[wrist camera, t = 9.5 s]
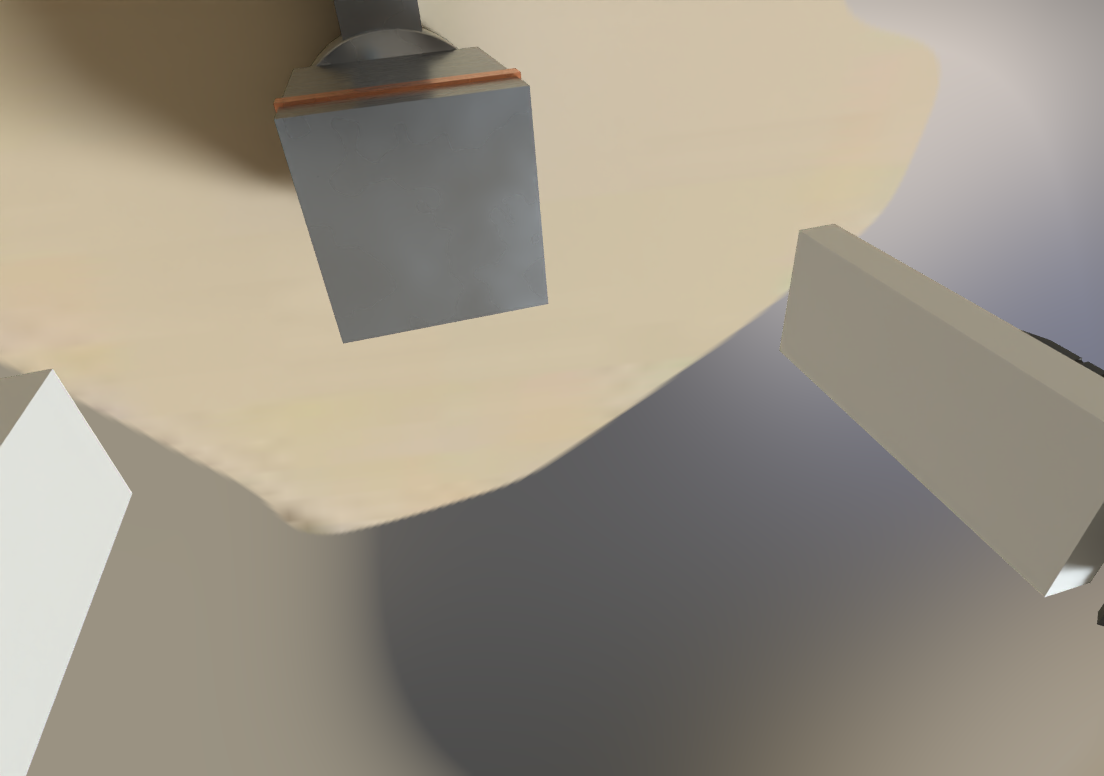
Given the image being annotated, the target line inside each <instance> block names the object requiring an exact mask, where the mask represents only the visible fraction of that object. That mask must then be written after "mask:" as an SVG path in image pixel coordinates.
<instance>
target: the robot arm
mask: <svg viewBox="0 0 1104 776" xmlns="http://www.w3.org/2000/svg"><path fill="white" fill-rule="evenodd" d="M780 352H782V353H783V354H784V355H785V356H786V357H787V358H788V359H789V360H790V361H791V362H792V363H793V364H794V365H796V366H797V367H798V368H799V369H800V370H801V371H802V372H803V373H804V374H805V375H806V376H807V377H808V378H809V379H811V380H812V381H813V382H814V383H815V384H816V385H817V386H818V387H819V388H820V389H821V390H822V391H824V392H825V393H826V394H827V395H828V396H829V397H830V398H831V399H832V400H833V401H834V402H835V403H836V404H837V405H838V406H840V407H841V408H842V409H843V410H844V411H845V412H846V413H847V414H848V415H849V416H850V417H851V418H852V419H854V420H855V421H856V422H857V423H858V424H859V425H860V426H861V427H862V428H863V429H864V430H865V431H866V432H867V433H869V434H870V435H871V436H872V437H873V438H874V439H875V440H876V441H877V442H878V443H879V444H880V445H881V446H883V447H884V448H885V449H886V450H887V451H888V452H889V453H890V454H891V455H892V456H894V458H895V459H896V460H898V461H899V462H900V463H901V464H902V465H903V466H904V467H905V468H906V469H907V470H908V471H910V473H912V474H913V475H914V476H915V477H916V478H917V479H918V480H919V481H920V482H921V483H922V484H923V485H924V486H926V487H927V488H928V489H929V490H930V491H931V492H932V493H933V494H934V495H935V496H936V497H937V498H939V499H940V500H941V501H942V502H943V503H944V504H945V505H946V506H947V507H948V508H949V509H950V510H951V511H952V512H953V513H955V514H956V515H957V516H958V517H959V518H960V519H961V520H962V521H963V522H964V523H965V524H966V525H967V526H969V527H970V528H971V529H972V530H973V531H974V532H975V533H976V534H977V535H978V536H979V537H980V538H981V539H982V540H984V541H985V542H986V543H987V544H988V545H989V546H990V547H991V548H992V549H993V550H994V551H995V552H996V553H997V554H999V555H1000V556H1001V557H1002V558H1003V559H1004V560H1005V561H1006V562H1007V563H1008V564H1009V565H1010V566H1011V567H1013V568H1014V569H1015V570H1016V571H1017V572H1018V573H1019V574H1020V575H1021V576H1022V577H1023V578H1024V579H1025V580H1026V581H1028V582H1029V583H1030V584H1031V585H1032V586H1033V587H1034V588H1035V589H1036V590H1037V591H1038V592H1039V593H1040V594H1041V595H1043V596H1044V597H1047V596H1049V595H1053V594H1056V593H1059V592H1062V591H1065V590H1068V589H1072V588H1075V587H1077V586H1081V585H1084V584H1087V583H1090V582H1091V581H1092V579H1093V578H1094V576H1095V575H1096V573H1097V572H1098V570H1099V569H1100V567H1101V566H1102V564H1103V563H1104V370H1102V369H1101V368H1099V367H1097V366H1095V365H1093V364H1092V363H1090V362H1085V363H1084V362H1082V358H1081V357H1079V356H1077V355H1076V354H1074V353H1072V352H1070V351H1069V350H1067V349H1065V348H1063V347H1061V346H1060V345H1058V344H1056V343H1054V342H1053V341H1051V340H1048V339H1045V338H1042V337H1040V336H1037V335H1034V334H1031V333H1028V332H1025V331H1022V330H1020V329H1018V328H1016V327H1014V326H1012V325H1011V324H1009V323H1007V322H1005V321H1004V320H1002V319H1000V318H998V317H997V316H995V315H993V314H991V313H989V312H988V311H986V310H984V309H983V308H981V307H979V306H977V305H976V304H974V303H972V302H970V301H969V300H967V299H965V298H963V297H962V296H960V295H958V294H956V293H955V292H953V291H951V290H949V289H948V288H946V287H944V286H942V285H941V284H939V283H937V282H935V281H934V280H932V279H930V278H928V277H927V276H925V275H923V274H921V273H920V272H918V271H916V270H914V269H913V268H911V267H909V266H907V265H906V264H904V263H902V262H900V261H899V260H897V259H895V258H893V257H892V256H890V255H888V254H886V253H885V252H883V251H881V250H879V249H878V248H876V247H874V246H872V245H871V244H869V243H867V242H865V241H864V240H862V239H860V238H858V237H857V236H855V235H853V234H851V233H850V232H848V231H846V230H844V229H843V228H841V227H839V226H837V225H836V224H831V225H825V226H820V227H815V228H809V229H804V230H799V235H798V241H797V247H796V253H795V259H794V266H793V272H792V278H791V284H790V290H789V296H788V302H787V308H786V314H785V320H784V326H783V332H782V338H781V344H780ZM131 495H132V492H131V491H130V489H129V487H128V486H127V484H126V483H125V481H124V479H123V478H122V476H121V475H120V473H119V472H118V470H117V469H116V467H115V465H114V464H113V462H112V461H111V459H110V458H109V456H108V454H107V453H106V451H105V450H104V448H103V447H102V445H101V444H100V442H99V440H98V439H97V437H96V436H95V434H94V433H93V431H92V429H91V428H90V426H89V425H88V423H87V422H86V420H85V418H84V417H83V415H82V414H81V412H80V411H79V409H78V408H77V406H76V404H75V403H74V401H73V400H72V398H71V397H70V395H69V393H68V392H67V390H66V389H65V387H64V386H63V384H62V382H61V381H60V379H59V378H58V376H57V375H56V373H55V372H54V370H53V369H48V370H43V371H38V372H32V373H27V374H22V375H16V376H11V377H5V378H0V776H26V774H27V771H28V768H29V766H30V763H31V761H32V758H33V755H34V753H35V750H36V747H37V745H38V742H39V740H40V737H41V734H42V731H43V729H44V726H45V724H46V721H47V718H48V716H49V713H50V710H51V708H52V705H53V702H54V700H55V697H56V694H57V692H58V689H59V686H60V684H61V681H62V678H63V676H64V673H65V670H66V668H67V665H68V662H69V660H70V657H71V655H72V652H73V649H74V647H75V644H76V641H77V639H78V636H79V633H80V631H81V628H82V625H83V622H84V620H85V617H86V615H87V612H88V609H89V607H90V604H91V601H92V598H93V596H94V593H95V591H96V588H97V585H98V583H99V580H100V577H101V574H102V572H103V569H104V567H105V564H106V561H107V559H108V556H109V553H110V551H111V548H112V545H113V543H114V540H115V538H116V535H117V532H118V529H119V527H120V524H121V522H122V518H123V516H124V514H125V511H126V508H127V505H128V503H129V500H130V498H131ZM1097 624H1098V625H1102V626H1104V604H1103V606H1102V607H1101V609H1100V610H1099V611H1098V620H1097Z"/></svg>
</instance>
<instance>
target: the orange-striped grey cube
mask: <svg viewBox="0 0 1104 776" xmlns="http://www.w3.org/2000/svg"><path fill="white" fill-rule="evenodd" d="M273 104H274V107H275V111H276V115H275V118H274V121H275V124H276V128H277V131H278V134H279V137H280V141H281V144H282V147H283V150H284V154H285V157H286V160H287V163H288V166H289V170H290V173H291V176H292V179H293V183H294V186H295V189H296V192H297V196H298V199H299V202H300V205H301V209H302V212H303V215H304V218H305V222H306V225H307V228H308V231H309V234H310V238H311V241H312V244H313V247H314V251H315V254H316V257H317V260H318V264H319V267H320V270H321V273H322V277H323V280H324V283H325V286H326V290H327V293H328V296H329V299H330V302H331V306H332V309H333V312H334V315H335V319H336V322H337V325H338V328H339V332H340V335H341V338H342V341H343V343H348V342H353V341H359V340H364V339H369V338H374V337H379V336H384V335H390V334H395V333H400V332H405V331H410V330H415V329H421V328H426V327H431V326H436V325H441V324H446V323H451V322H457V321H462V320H467V319H472V318H477V317H482V316H488V315H493V314H498V313H503V312H508V311H513V310H519V309H524V308H529V307H534V306H539V305H544V304H548V296H547V285H546V273H545V261H544V249H543V238H542V226H541V214H540V202H539V191H538V179H537V167H536V155H535V144H534V132H533V120H532V108H531V97H530V85H528V84H527V83H526V82H524V81H523V80H521V72H520V71H518V70H517V69H516V68H513V69H507V68H505V67H504V66H503V65H501V64H500V63H499V62H497V61H496V60H495V59H493V58H492V57H491V56H489V55H488V54H487V53H485V52H484V51H483V50H481V49H480V48H479V47H471V48H463V49H455V50H446V51H438V52H429V53H421V54H413V55H404V56H396V57H388V58H379V59H371V60H363V61H354V62H346V63H338V64H329V65H321V66H313V67H304V68H296V69H293V72H292V74H291V77H290V79H289V82H288V85H287V87H286V90H285V92H284V95H283V97H282V98H276V99H275V101H274V103H273Z"/></svg>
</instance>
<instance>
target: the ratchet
mask: <svg viewBox="0 0 1104 776" xmlns="http://www.w3.org/2000/svg"><path fill="white" fill-rule="evenodd" d="M334 5H335V9H336V13H337V17H338V22H339V26H340V30H341V35H340V36H339V37H338V38H336V39H335V40H334V41H332V42H331V43H330V44H328V45H327V47H326V48H325V49H324V50H323V51H322V52H321V53H320V54H319V55H318V56H317V58H316V59H315V61H314V62H313V64H312V65H311V67H313V66H321V65H329V64H338V63H346V62H354V61H363V60H371V59H379V58H388V57H396V56H404V55H413V54H421V53H429V52H438V51H446V50H455V49H458V48H457V47H455V46H454V45H453V44H451V43H450V42H449V41H447V40H446V39H444V38H443V37H441V36H439V35H438V34H436V33H434V32H432V31H429V30H427V29H425V28H422V26H421V20H420V14H419V8H418V2H417V0H334Z"/></svg>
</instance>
